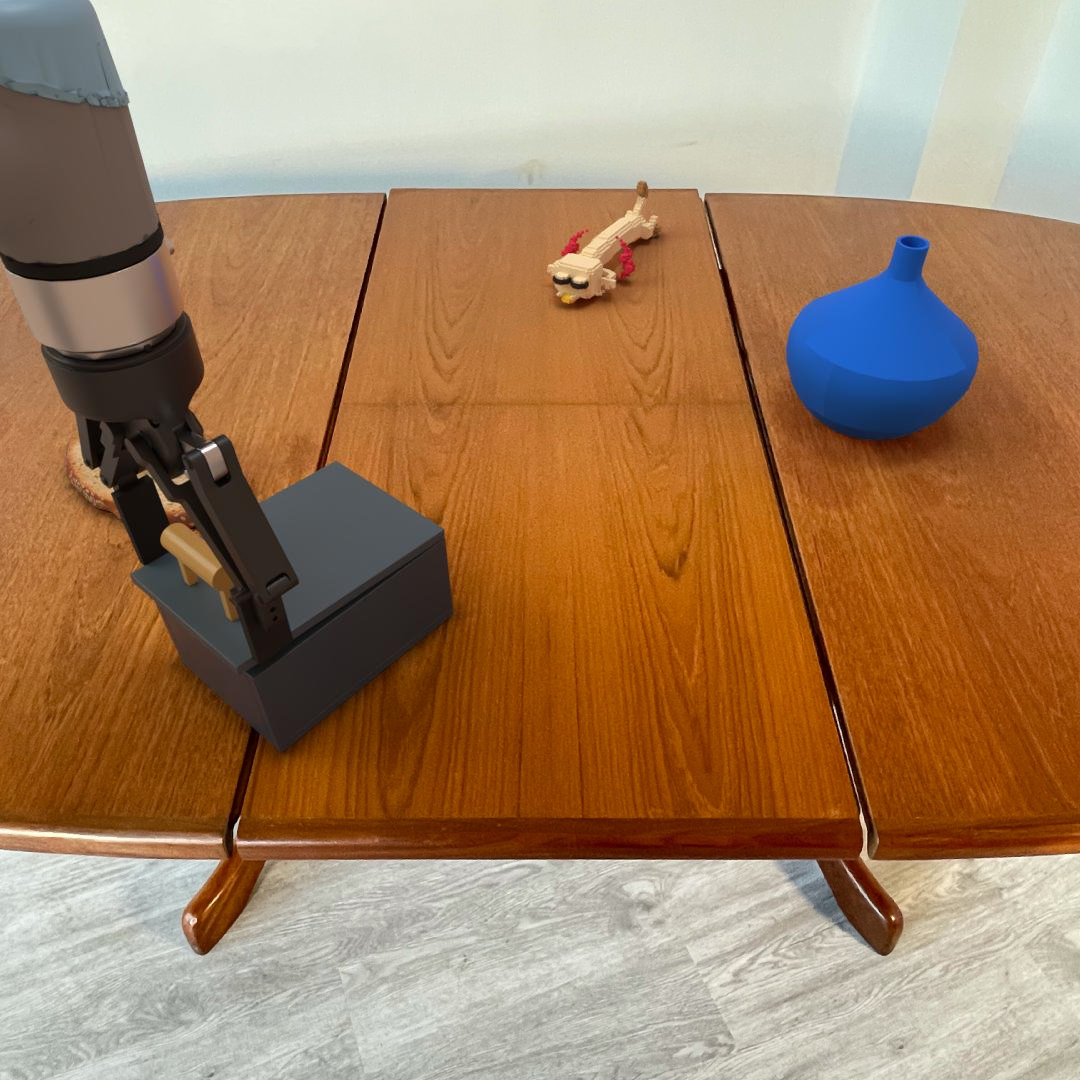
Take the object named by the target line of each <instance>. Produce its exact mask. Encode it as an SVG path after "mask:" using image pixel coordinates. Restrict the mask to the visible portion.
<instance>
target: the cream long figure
mask: <svg viewBox="0 0 1080 1080" xmlns="http://www.w3.org/2000/svg"><path fill="white" fill-rule="evenodd" d="M635 192H636V195H638V196H637V199H636V202H635V205H634V206H633V210H627V211H626V214H625V215H624V217H620V218H618V219H617V220H616V221H615V222H614V223H612V224H611V225H609V226H608V227H607V228H605V229H604V230H603V231H601V232H599V234H597V235H596V236H595V237H594V238H592V239H591V242H589V244H587V245H586V246H585V247H583V248H582V249H581V252H580V253H578V252H579V251H580V243H578V239H582V238H583V234H585V233H589V231H590V230H589V228H586V229H585V230H581V231H576V235H574V234H573V235H571V237H569V240H568V243H567V244H566V245H565V246H564V249H563V250H561V254H560V256H561V258H560V259H557V260H556V261H554V262H553V263H549V264H548V265H547V273H549V274H551V277H552V282H553V283H554V284H553V285H554V286H553V287H555V289H556V290H557V291H558V292H557V293H556V297H559V298H561V301H562V303H565V304H568V305H569V304H574V303H575V302H576V301H577V300H578V299H580V298H581V299H585V300H588V299H591V298H592V297H594V296H595V297H599V296H600V297H601V296H603V294H605V293H606V290H608V291H610V290H612V289H616V287H617V282H618V281H619V280H621V281H622V280H624V279H626V278H629V277H631V274H632V273H634V272H635V271H636V263H635V262H634V260H633V250H631V248H630V247H627V246H628V245H630V244H631V243H634V242H636V241H637V240H639V239H640V238H641V239H643V240H648V239H650V238H654V239H655V238H656V237H657V235H660V234H661V232H662V225H659V217H660V216H658V215H654V214H653V215H651V216H650V217H649V220H648V221H647V220H646V219H645V217H644V216H643V214H642V211H643V209H644V207H645V206H646V203H647V200H648V198H649V186H648V182H647V181H644V180H639V181H637V184H636V189H635ZM621 249H623V251H624V253H620V254H619V256H618V261H619V263H620V264H622V271H621V272H620V277H617V273H616V271H614V270H613V271H612V270H611V269H608V268H604V266H605V265H606V264H607V263H608V262H610V260H612V259H613V258H614V255H615V254H617V253H618V252H619V251H621ZM577 253H578V254H577ZM602 287H604V289H602Z"/></svg>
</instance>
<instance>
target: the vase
mask: <svg viewBox="0 0 1080 1080" xmlns="http://www.w3.org/2000/svg"><path fill="white" fill-rule="evenodd" d="M930 246H931V243H930V241H929V240H928V239H926V238H924V237H922V236H918V235H913V234H904V235H901V236H898V237H897V238H896V241H895V245H894V248H893V252H892V255H891V258H890V262H889V264H888V266H887V267H886V269H885V270H883V271H882V272H880V273H879V274H878V275H876V276H874V277H871V278H868V279H866V280H864V281H862V282H859V283H856V284H854V285H850V286H848V287H844V288H841V289H839V290H836V291H833V292H830V293H827V294H825V295H822V296H819V297H818V298H815V299H813V300H811V301H810V302H809V303H807V304H805V306H804V307H803V308H802V309H801V310H800V312H799V313H798V314H797V316H796V317H795V319H794V321H793V323H792V325H791V326H790V328H789V331H788V335H787V342H786V346H785V360H786V365H787V368H788V373H789V376H790V377H789V378H790V381H791V385H792V387H793V390H794V391H795V393H796V395H797V397H798V398H799V400H800V401H801V403H802V405H803V406H804V407H805V409H806V410H807V412H808V413H810V415H811V416H813V418H815V419H816V420H817V421H818V422H820V423H821V424H823V425H824V426H826V427H827V428H829V429H830V430H832V431H834V432H836V433H838V434H840V435H843V436H846V437H848V438H852V439H853V438H854V439H857V440H865V441H886V440H894V439H895V440H896V439H899V438H903V437H907V436H910V435H912V434H915V433H917V432H919V431H921V430H923V429H925V428H927V427H929V426H931V425H933V424H935V423H936V422H938V421H940V419H942V418H943V417H944V416H945V415H946V414H947V413H948V412H949V411H950V410H952V408H953V407H954V406H955V405H957V403H959V402H960V401H961V399H962V398H963V397H964V396H965V394H966V393H967V392H968V391H969V390H970V387H971V386H972V382H973V381H974V378H975V375H976V374H977V371H978V369H977V368H978V366H979V359H980V358H979V345H978V342H977V338H976V336H975V333H974V332H973V331H972V330H971V328H970V327H969V326H968V325H967V324H966V323H965V321H963V320H962V319H961V318H960V316H958V315H957V314H956V313H955V312H954V311H952V309H951V308H949V307H948V305H946V303H944V302H943V301H942V300H941V299H940V297H938V295H936V294H935V292H934V291H933V290H932V289H931V288H930V287H929V286H928V285H927V283H926V281H925V279H924V277H923V268H924V264H925V262H926V258H927V255H928V252H929V249H930Z"/></svg>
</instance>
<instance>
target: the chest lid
mask: <svg viewBox="0 0 1080 1080" xmlns="http://www.w3.org/2000/svg"><path fill="white" fill-rule="evenodd" d="M258 503H259V505H260V507H261V509H262V510H263V512H264V514H265V516H266V518H267V520H268V522H269V524H270V526H271V528H272V529H273V531H274V533H275V535H276V537H277V539H278V541H279V543H280V545H281V547H282V549H283V550H284V552H285V554H286V556H287V558H288V560H289V562H290V564H291V566H292V568H293V569H294V571H295V573H296V575H297V577H298V580H299V584H298V585H297V586H295V587H294V588H292V589H291V590H289V591H288V592H286V593H285V594H283V595H282V596H281V597H282V601H283V604H284V608H285V611H286V615H287V618H288V622H289V625H290V629H291V633H292V636H293V639H295V638H296V637H298V636H299V635H300V634H302V633H303V632H305V631H306V630H308V629H309V628H311V627H312V626H314V625H315V624H317V623H318V622H320V621H321V620H323V619H324V618H326V617H327V616H329V615H330V614H332V613H333V612H335V611H336V610H338V609H339V608H341V607H342V606H343V605H345V604H346V603H348V602H349V601H351V600H352V599H354V598H355V597H357V596H358V595H360V594H361V593H363V592H364V591H366V590H367V589H369V588H370V587H372V586H373V585H375V584H376V583H378V582H379V581H381V580H382V579H384V578H385V577H386V576H388V575H389V574H391V573H392V572H394V571H395V570H397V569H398V568H400V567H401V566H403V565H404V564H406V563H407V562H409V561H410V560H412V559H413V558H415V557H416V556H418V555H419V554H421V553H422V552H424V551H425V550H427V549H428V548H429V547H431V546H432V545H434V544H435V543H437V542H438V541H440V540H441V539H443V538H444V537H445V538H446V533H445V532H446V531H445V528H443V527H442V526H440V525H439V524H438V523H436V522H434V521H432V520H431V519H429V518H428V517H426V516H424V515H422V513H420V512H418V511H416V510H415V509H413V508H412V507H410V506H409V505H407V504H405V503H404V502H402V501H401V500H399V499H398V498H396V497H394V496H393V495H392V494H390V493H388V492H387V491H385V490H384V489H382V488H381V487H379V486H377V485H375V484H374V483H372V482H370V481H369V480H368V479H366V478H364V477H363V476H361V475H359V474H358V473H356V472H355V471H353V470H352V469H350V468H348V467H347V466H346V465H344V464H342V463H340V462H339V461H338V460H334V461H333V462H331V463H329V464H328V465H325V466H324V467H321V468H320V469H318V470H316V471H315V472H314V471H313V472H312V473H311V474H308V475H307V476H305V477H303V478H301V479H300V480H298V481H296V482H294V483H293V484H290V485H289V486H287V487H285V488H283V489H282V490H280V491H278V492H276V493H274V494H272V495H270V496H268V497H267V498H266V499H264V500H262V501H260V502H258ZM160 540H161V544H162V546H163V547H164V548H165V549H167V550H168V551H169V553H167V554H165V555H163V556H161V557H159V558H158V559H156V560H154V561H152V562H150V563H148V564H147V565H145V566H144V565H142V566H141V567H140V568H138V569H136V570H134V571H132V572H130V573H129V576H130V579H131V581H132V583H133V584H134V585H135V586H136V587H137V588H139V589H140V591H142V592H143V593H144V594H145V595H147V596H148V598H150V599H151V600H152V601H153V602H154V603H155V602H156V603H157V604H158V605H159V606H160V607H161V608H163V609H164V610H165V611H166V612H167V613H168V614H169V615H170V616H172V617H173V618H174V619H175V620H176V621H177V622H178V623H180V624H181V625H182V626H183V627H184V628H185V629H186V630H187V631H189V632H190V633H191V634H192V635H193V636H194V637H195V638H197V639H198V640H199V641H200V642H201V643H202V644H203V645H204V646H206V647H207V648H208V649H209V650H210V651H211V652H212V653H214V654H215V655H216V656H217V657H218V658H219V659H220V660H221V661H223V662H224V663H225V664H226V665H227V666H228V667H229V668H231V669H232V670H233V671H234V672H235V673H236V674H237V675H238V676H240V675H241V674H243V673H244V672H246V671H247V670H249V669H250V668H252V667H253V666H255V665H256V664H257V662H256V661H255V660H253V658H252V655H251V652H250V649H249V646H248V643H247V640H246V637H245V634H244V631H243V628H242V625H241V622H240V619H239V617H238V614H237V611H236V608H235V606H234V605H233V604H232V603H231V602H230V601H229V598H231V597H232V596H231V593H230V589H232V588H233V587H235V585H234V584H233V582H232V581H231V579H230V578H229V576H228V575H227V573H226V572H225V570H224V569H223V567H222V566H221V564H220V563H219V561H218V560H217V558H216V557H215V555H214V554H213V552H212V551H211V549H210V548H209V546H208V545H207V543H206V542H205V540H204V539H203V537H202V536H201V534H199V535H198V534H197V533H196V532H195V531H194V530H193V529H192V528H188V527H187V526H185V525H184V524H182V523H174V524H171V525H169V526H168V527H167V528H166V529H165V530H164V531H163V533H162V535H161V539H160Z"/></svg>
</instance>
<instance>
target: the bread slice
mask: <svg viewBox="0 0 1080 1080" xmlns="http://www.w3.org/2000/svg"><path fill="white" fill-rule="evenodd" d="M64 468H65V471H66V473H67V475H68V476H69V480H70V482H71V484H72V485H73V486H74V487H75V488H76V490H77V491H78V492H79V494H80V495H82V496H83V497H85V499H86V500H87V501H89V502H90V503H91V504H92V505H93V507H95V508H96V509H99V510H102V511H103V510H104V511H108V512H110V513H112V514H114V515H115V517H116V518H118V519H119V520H121V521H122V519H121V517H120V514H119V512H118V510H117V507H116V505H115V503H114V500H113V498H112V496H111V493H112V492H114V489H113V487H112V488H110V489H109V488H107V487H106V485H104V484H103V483H102V482H101V478H100V476H99V475H100V474H99V473H100V468H99V467H98V468H96V469H94V470H91V469H90V468H89V467H87V466H86V465H85V464H84V462H83V457H82V452H81V446H80V440H79V434H76V435H74V436H72V437H71V438H70V439H69V441H68V442H67V445H66V449H65V456H64ZM146 474H147V475H148V476H150V477H151V478H152V476H151V475H150V473H149V472H148V470H145V471H143V472H141V473H139V474H137V477H138V479H139V478H141V477H143V476H144V475H146ZM152 479H153V478H152ZM188 480H190V479H188V478H187V477H186V475H185V474H183V475H181V476H179V477H177V478H175V479H172V481H173V482H174V483H175V484H178V485H179V484H182V483H184V482H186V481H188ZM153 481H154V479H153ZM154 483H155V486H156V489H157V491H158V494H159V496H160V499H161V502H162V504H163V507H164V510H165V512H166V515H167V518H168V520H169V523H170V525H171V524H174V523H182V524H184V525H185V526H187V527H188V528H189V529H192V528H196V527H195V525H194V524H193V522H192V521H191V519H190V518H189V516H188V515H187V513H186V512H185V510H184V509H183V507H182V506H181V505H180V504H179V503H172V502H170V501H168V500H167V499H166V497H165V496H164V494H163V493H162V491H161V490H160V488H159V487H158V485H157V484H156V482H155V481H154Z"/></svg>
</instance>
